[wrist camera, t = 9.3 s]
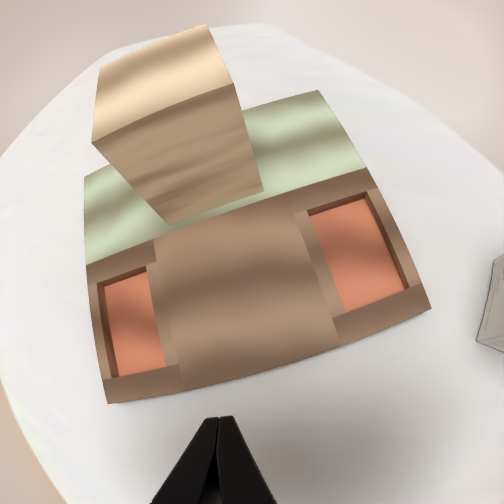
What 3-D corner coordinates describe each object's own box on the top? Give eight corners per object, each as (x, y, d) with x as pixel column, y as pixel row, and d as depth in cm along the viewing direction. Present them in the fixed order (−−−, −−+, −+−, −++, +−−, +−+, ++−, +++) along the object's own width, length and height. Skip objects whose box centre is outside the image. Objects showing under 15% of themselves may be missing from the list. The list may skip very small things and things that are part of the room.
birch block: (264, 191, 24) (233, 83, 14) (168, 225, 24) (91, 142, 14) (238, 122, 27) (206, 23, 17) (157, 152, 27) (99, 68, 17)
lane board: (424, 311, 20) (431, 308, 19) (117, 402, 22) (107, 404, 20) (318, 100, 28) (318, 89, 27) (92, 184, 30) (84, 177, 28)
